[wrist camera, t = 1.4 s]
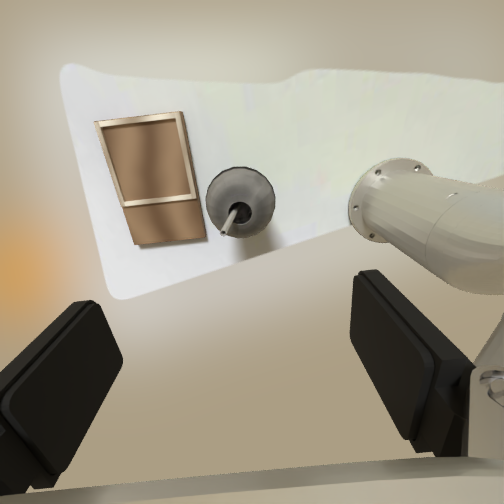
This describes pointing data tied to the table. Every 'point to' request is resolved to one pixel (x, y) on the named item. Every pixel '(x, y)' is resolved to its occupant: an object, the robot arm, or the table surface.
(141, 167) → the walnut board
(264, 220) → the beverage cup
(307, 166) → the table surface
